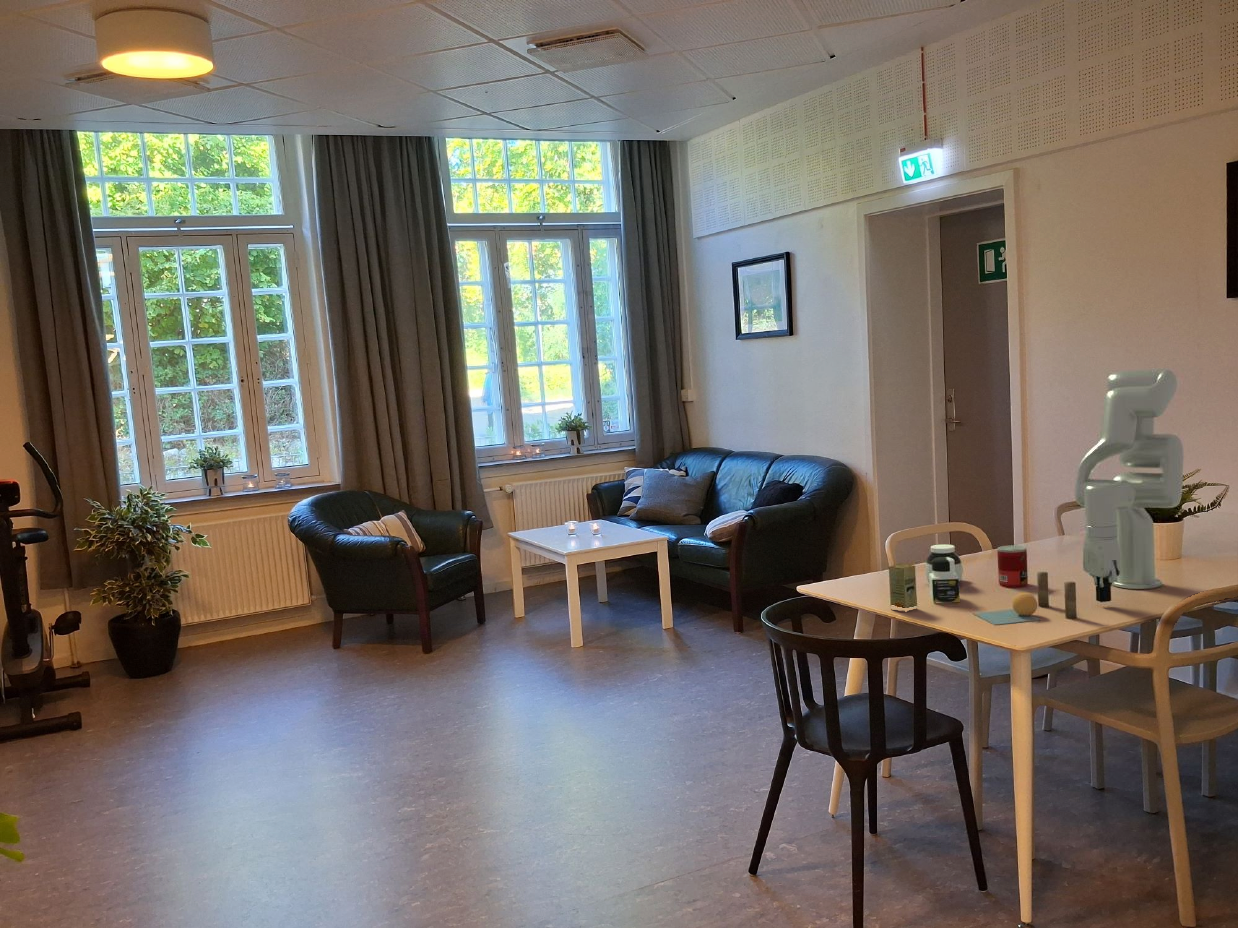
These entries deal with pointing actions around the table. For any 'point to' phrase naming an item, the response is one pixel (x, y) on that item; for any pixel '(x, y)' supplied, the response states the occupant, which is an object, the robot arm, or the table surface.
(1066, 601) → the post
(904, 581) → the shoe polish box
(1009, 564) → the canned food
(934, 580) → the medicine bottle
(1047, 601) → the post
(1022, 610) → the ball
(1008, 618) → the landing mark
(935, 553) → the spread jar
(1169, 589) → the table surface
